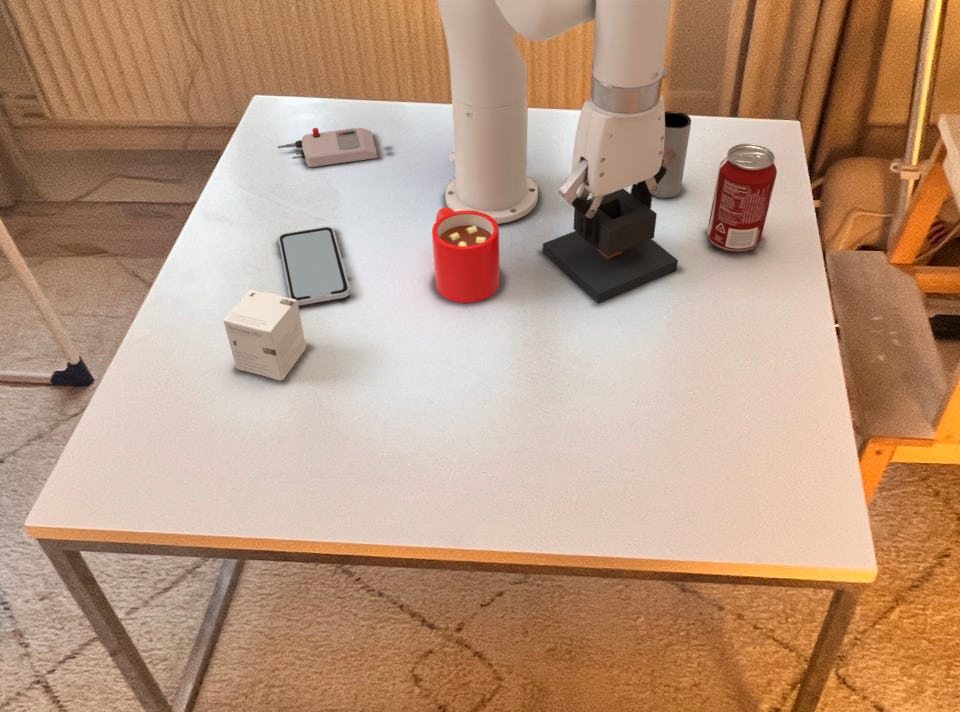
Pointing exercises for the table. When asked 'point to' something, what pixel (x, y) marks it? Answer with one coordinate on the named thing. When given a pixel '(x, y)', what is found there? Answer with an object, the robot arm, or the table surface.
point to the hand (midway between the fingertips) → (613, 228)
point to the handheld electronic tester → (335, 146)
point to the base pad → (608, 265)
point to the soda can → (742, 197)
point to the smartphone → (313, 266)
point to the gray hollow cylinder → (677, 141)
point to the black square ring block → (622, 222)
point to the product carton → (265, 334)
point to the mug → (466, 255)
